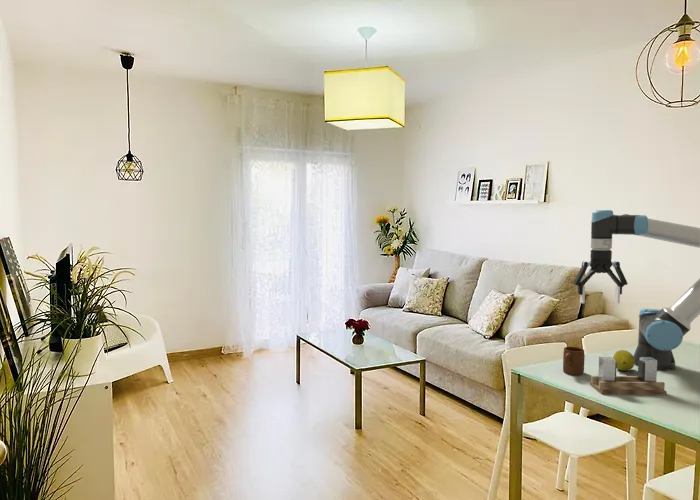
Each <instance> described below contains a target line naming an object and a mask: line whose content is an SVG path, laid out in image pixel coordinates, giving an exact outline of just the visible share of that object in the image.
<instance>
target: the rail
mask: <svg viewBox="0 0 700 500" xmlns="http://www.w3.org/2000/svg"><path fill="white" fill-rule="evenodd" d="M590 379H591V380H589V384H590V386H591V387H592V388H593V389H594V390H596V391H597V392H598V393H600V395H631V396H632V395H633V396H634V395H643V396H644V395H647V396H649V395H651V396H652V395H653V396H656V395H657V396H658V395H659V396H667V393H668V392H667V390H665V389H666V388H665V385H666V384H665V383H666V382H664V381H656V382H639V380H638V375H635V376H634V375H616V382H605V381H599V384H598V375H591V376H590Z"/></svg>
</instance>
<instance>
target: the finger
mask: <svg viewBox="0 0 700 500" xmlns="http://www.w3.org/2000/svg"><path fill="white" fill-rule="evenodd" d="M657 374H658V370H657V360H656V359H654V358H652V357H640V360H638V366H637V376H638V380H639V382H657V377H658V376H657Z"/></svg>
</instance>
